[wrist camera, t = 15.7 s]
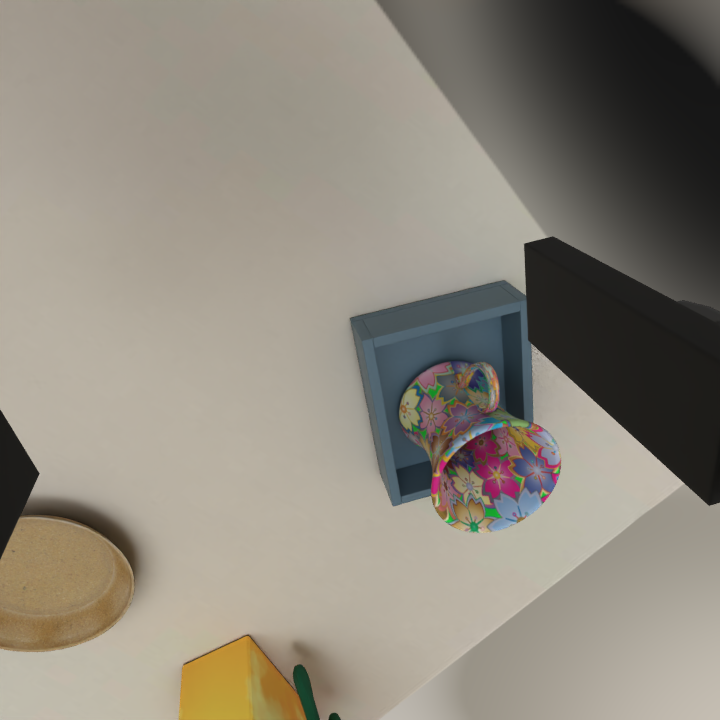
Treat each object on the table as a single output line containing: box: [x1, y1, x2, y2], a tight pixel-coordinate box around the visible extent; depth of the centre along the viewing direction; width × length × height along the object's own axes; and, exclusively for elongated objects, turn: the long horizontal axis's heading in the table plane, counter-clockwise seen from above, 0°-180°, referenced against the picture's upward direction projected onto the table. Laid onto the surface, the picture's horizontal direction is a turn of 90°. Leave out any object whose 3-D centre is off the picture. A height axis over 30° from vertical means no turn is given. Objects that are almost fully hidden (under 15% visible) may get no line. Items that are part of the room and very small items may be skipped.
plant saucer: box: [0, 515, 135, 652], centre depth 46 cm, size 15×15×3 cm
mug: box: [399, 361, 561, 533], centre depth 42 cm, size 12×9×11 cm
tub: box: [350, 281, 533, 506], centre depth 45 cm, size 13×16×4 cm
